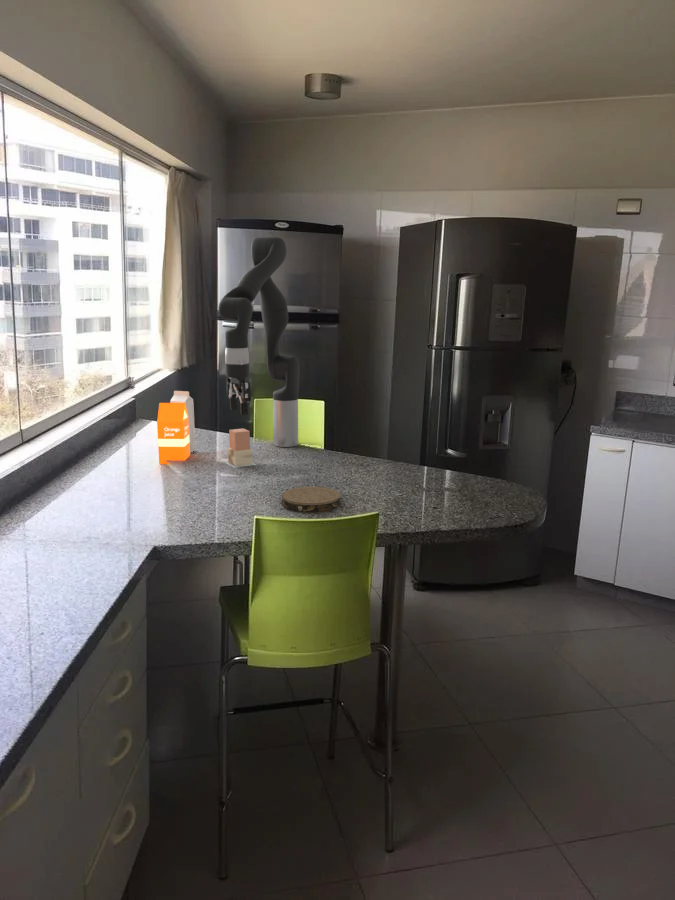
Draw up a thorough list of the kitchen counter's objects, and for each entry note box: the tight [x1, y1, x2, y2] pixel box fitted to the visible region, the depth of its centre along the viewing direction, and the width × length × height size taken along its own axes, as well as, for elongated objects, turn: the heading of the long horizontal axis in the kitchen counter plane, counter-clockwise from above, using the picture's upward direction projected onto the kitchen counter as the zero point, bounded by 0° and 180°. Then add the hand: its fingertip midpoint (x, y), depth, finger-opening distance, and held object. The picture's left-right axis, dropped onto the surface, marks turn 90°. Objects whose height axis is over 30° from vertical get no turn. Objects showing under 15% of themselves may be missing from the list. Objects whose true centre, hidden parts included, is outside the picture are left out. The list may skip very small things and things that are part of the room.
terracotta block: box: [228, 428, 251, 451], centre depth 232 cm, size 5×5×6 cm
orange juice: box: [156, 402, 191, 465], centre depth 240 cm, size 8×9×20 cm
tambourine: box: [281, 486, 341, 514], centre depth 196 cm, size 16×16×3 cm
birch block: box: [227, 447, 254, 468], centre depth 234 cm, size 6×6×5 cm
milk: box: [169, 390, 196, 454], centre depth 252 cm, size 6×6×22 cm
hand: (239, 412), depth 230 cm, fingers open, 8 cm apart
